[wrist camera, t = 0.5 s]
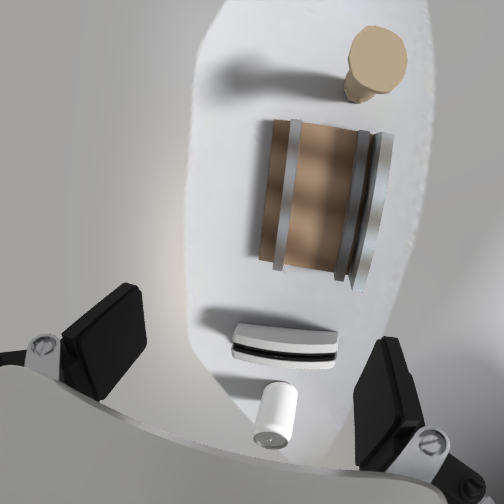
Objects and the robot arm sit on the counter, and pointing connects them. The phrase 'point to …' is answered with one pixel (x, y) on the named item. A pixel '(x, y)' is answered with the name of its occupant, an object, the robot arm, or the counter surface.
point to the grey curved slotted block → (285, 347)
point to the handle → (374, 64)
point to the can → (275, 416)
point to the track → (325, 198)
